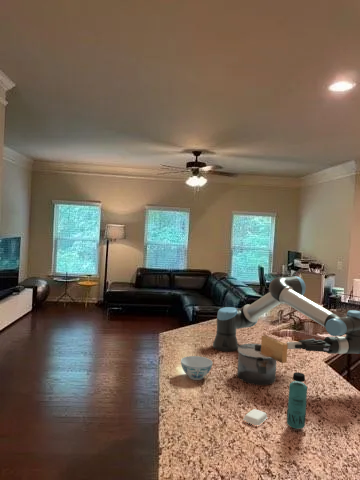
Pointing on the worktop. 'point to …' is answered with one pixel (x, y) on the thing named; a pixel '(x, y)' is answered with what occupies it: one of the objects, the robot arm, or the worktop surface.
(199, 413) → the worktop surface
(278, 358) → the lid
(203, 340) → the worktop surface
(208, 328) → the worktop surface
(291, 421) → the beverage bottle
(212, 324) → the worktop surface
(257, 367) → the pot
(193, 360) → the chinaware
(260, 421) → the soap
